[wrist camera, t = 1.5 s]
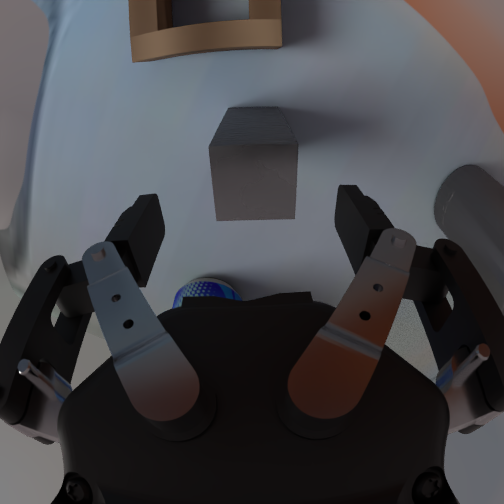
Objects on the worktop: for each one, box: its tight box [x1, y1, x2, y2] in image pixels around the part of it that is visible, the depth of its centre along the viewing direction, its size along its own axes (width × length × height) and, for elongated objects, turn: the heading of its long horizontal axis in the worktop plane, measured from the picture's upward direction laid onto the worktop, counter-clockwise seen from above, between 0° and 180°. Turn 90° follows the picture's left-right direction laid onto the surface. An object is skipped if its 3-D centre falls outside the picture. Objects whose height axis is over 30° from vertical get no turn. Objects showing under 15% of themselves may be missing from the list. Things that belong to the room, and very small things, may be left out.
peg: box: [209, 107, 298, 221], centre depth 17 cm, size 4×4×11 cm
